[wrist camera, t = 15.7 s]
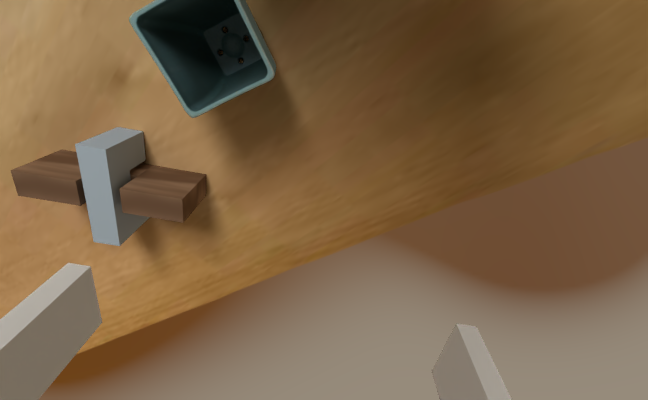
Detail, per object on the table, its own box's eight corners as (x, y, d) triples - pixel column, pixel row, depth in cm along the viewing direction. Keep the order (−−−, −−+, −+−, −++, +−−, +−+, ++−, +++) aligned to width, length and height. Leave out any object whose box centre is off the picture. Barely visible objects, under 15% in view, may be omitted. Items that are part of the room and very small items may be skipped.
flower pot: (290, 68, 35) (276, 77, 27) (222, 102, 36) (190, 120, 28) (250, -20, 31) (219, -41, 23) (176, 22, 33) (125, 17, 25)
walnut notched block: (61, 149, 40) (10, 170, 33) (206, 174, 41) (182, 199, 34) (66, 171, 41) (18, 195, 35) (205, 195, 42) (183, 222, 36)
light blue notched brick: (117, 127, 38) (75, 144, 32) (143, 131, 38) (105, 149, 32) (128, 212, 44) (93, 241, 37) (150, 216, 44) (119, 245, 37)
